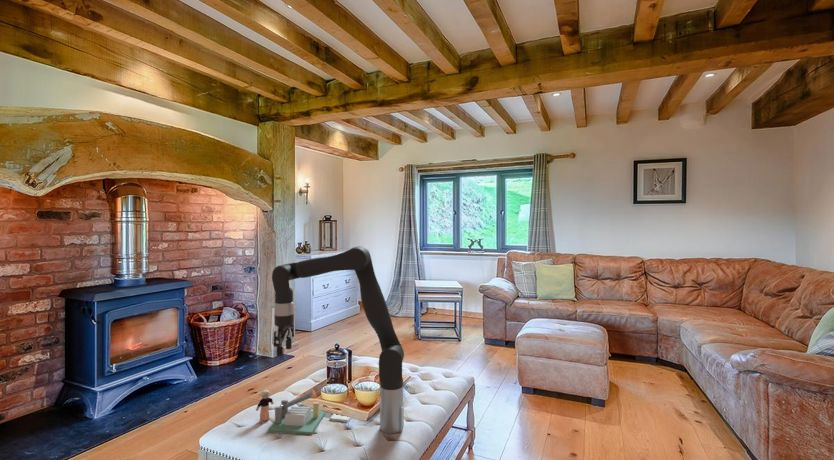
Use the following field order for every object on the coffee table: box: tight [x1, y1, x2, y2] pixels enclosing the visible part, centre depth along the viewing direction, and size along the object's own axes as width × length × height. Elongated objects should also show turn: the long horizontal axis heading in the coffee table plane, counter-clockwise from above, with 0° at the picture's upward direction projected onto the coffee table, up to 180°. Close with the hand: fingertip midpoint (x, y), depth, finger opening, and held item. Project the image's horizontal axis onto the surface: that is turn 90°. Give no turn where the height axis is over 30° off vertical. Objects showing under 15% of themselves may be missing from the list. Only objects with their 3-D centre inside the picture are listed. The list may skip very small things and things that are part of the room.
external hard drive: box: [329, 413, 352, 423], centre depth 167 cm, size 2×8×12 cm
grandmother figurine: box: [255, 389, 274, 424], centre depth 161 cm, size 8×4×13 cm, turn 153°
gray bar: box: [278, 389, 314, 410], centre depth 159 cm, size 16×4×2 cm, turn 84°
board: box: [267, 399, 326, 435], centre depth 159 cm, size 18×16×8 cm
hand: (284, 352), depth 159 cm, fingers open, 8 cm apart
